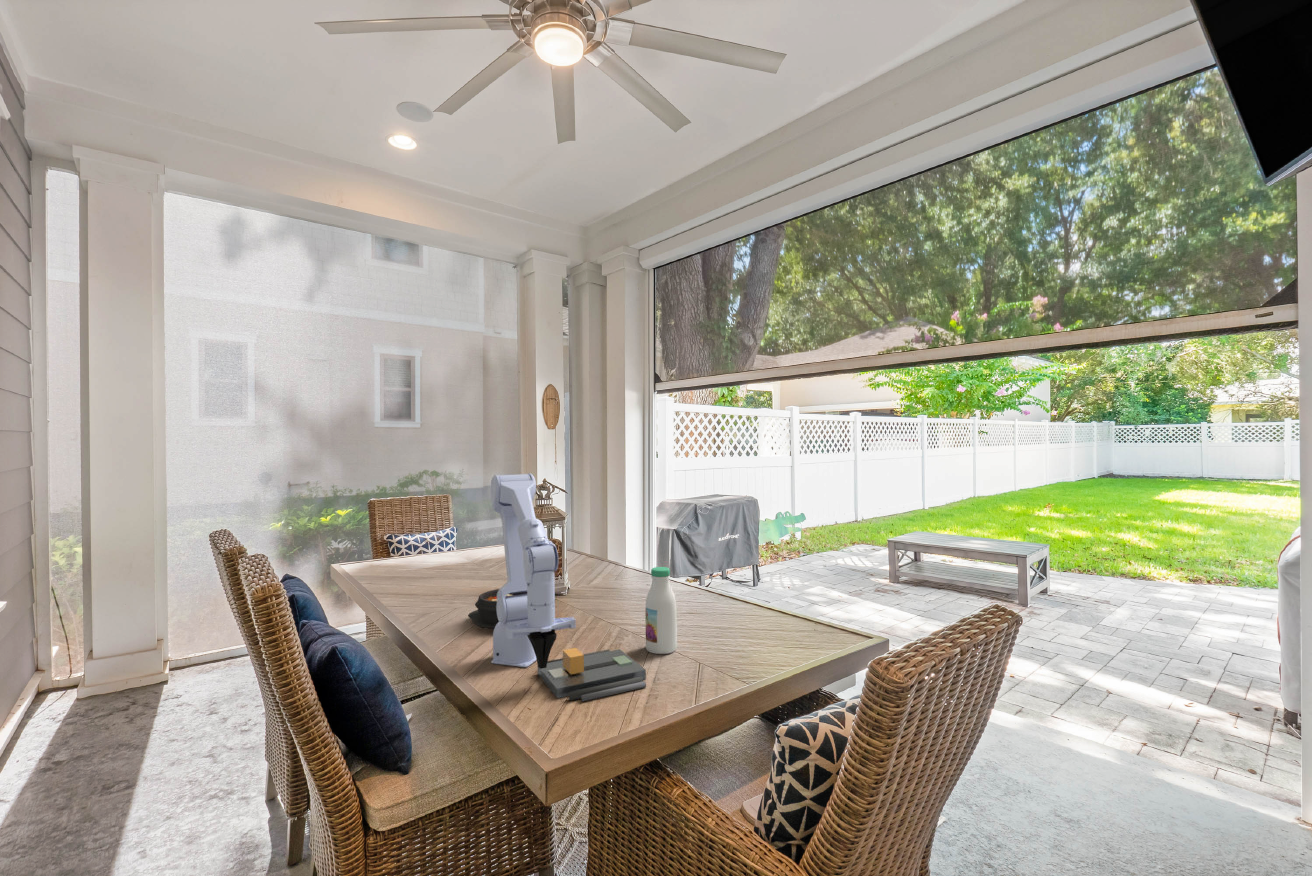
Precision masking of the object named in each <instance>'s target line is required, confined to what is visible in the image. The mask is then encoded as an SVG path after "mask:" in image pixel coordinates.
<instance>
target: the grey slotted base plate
mask: <svg viewBox="0 0 1312 876" xmlns="http://www.w3.org/2000/svg"><path fill="white" fill-rule="evenodd" d="M608 651H610V649H605V650H600V651H599V650H598V651H594V652H587V653H582V654H583V655H584V656H587V655H592V654H598V653H603V652H608ZM561 660H563V657H561V658H557V659H552V660H548V661H547V663H551V662H556V661H561ZM646 687H647V683H646V681H645V680H644V679H643V678H642V677H636V678H632V679H627V680H622V681H618V682H613V683H609V684H604V685H600V686H595V687H591V688H586V689H581V690H577V691H572V692H569V693H568V696H567V697H568V700H569V701H570V702H571V701H576V700H579V699H580V701H581V702H582V703H583V702H587V701H591V700H595V699H601V698H604V697H608V696H613V695H618V694H621V693H626V692H630V691H634V690H639V689H644V688H646Z"/></svg>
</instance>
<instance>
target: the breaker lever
mask: <svg viewBox="0 0 1312 876" xmlns="http://www.w3.org/2000/svg"><path fill="white" fill-rule="evenodd" d="M583 654H584V653H582V652H581V651H580V650H579V649H578V648H576V647H572V648H567V649H562V658H563V667H564V668H565V669H566V670H567V671H568V672H569V673H570V674H576V673H581V672H584V655H583Z"/></svg>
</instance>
